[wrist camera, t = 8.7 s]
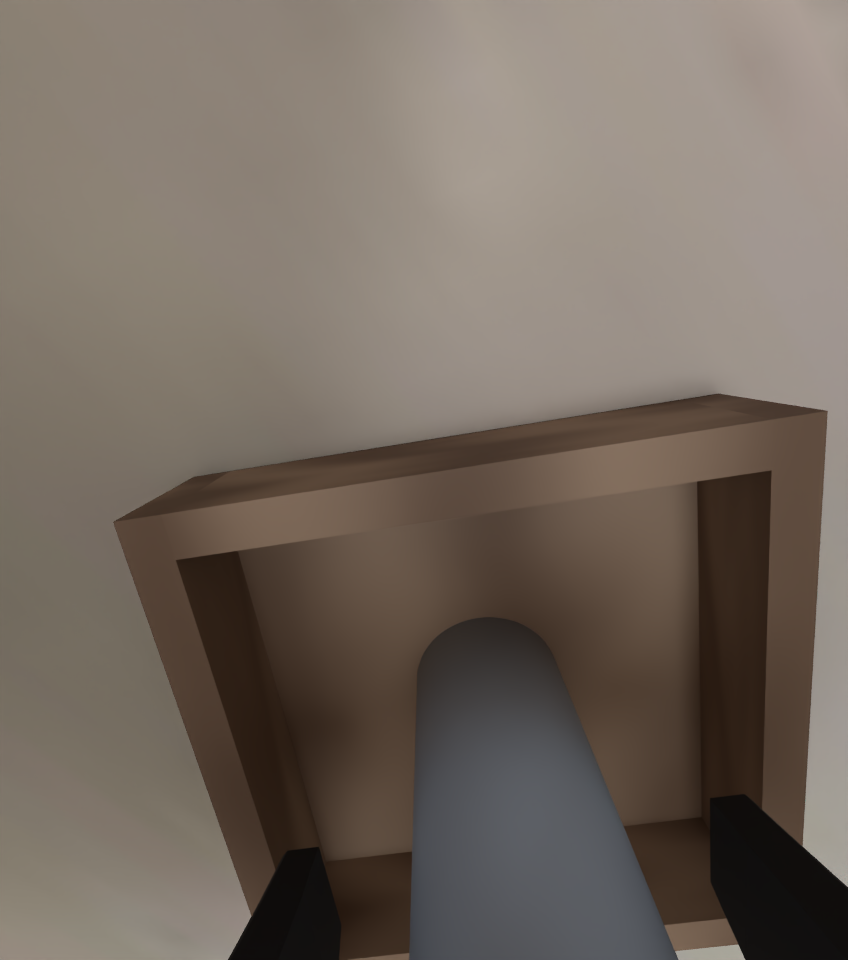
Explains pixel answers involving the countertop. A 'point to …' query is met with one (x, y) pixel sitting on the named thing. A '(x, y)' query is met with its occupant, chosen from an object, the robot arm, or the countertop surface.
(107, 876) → the countertop surface
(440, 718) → the peg
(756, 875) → the robot arm
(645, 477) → the open box
